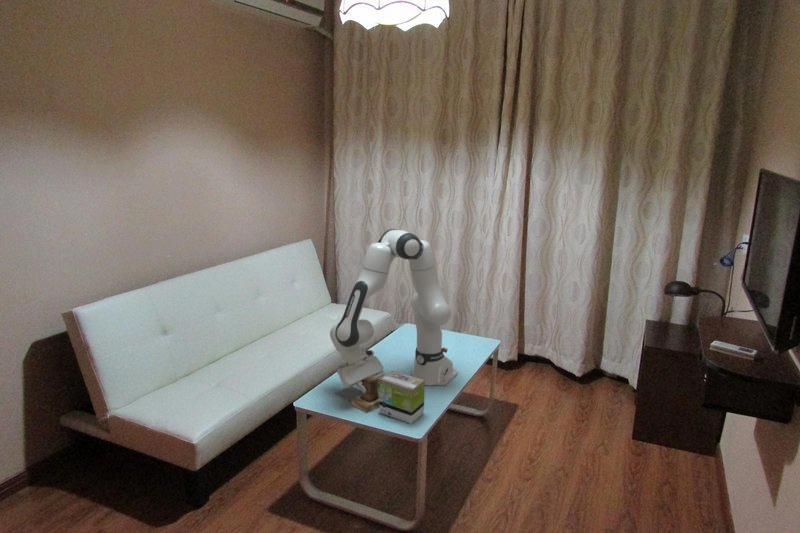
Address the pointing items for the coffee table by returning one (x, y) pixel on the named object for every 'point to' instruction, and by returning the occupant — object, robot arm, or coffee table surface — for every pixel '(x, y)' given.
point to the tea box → (402, 396)
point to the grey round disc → (380, 376)
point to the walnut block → (370, 389)
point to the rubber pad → (349, 393)
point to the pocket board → (365, 403)
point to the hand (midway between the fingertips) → (371, 389)
